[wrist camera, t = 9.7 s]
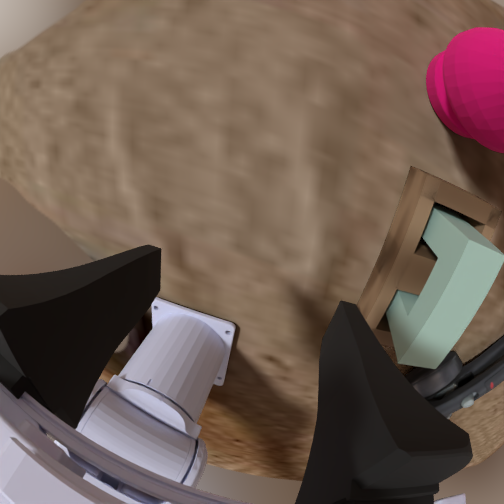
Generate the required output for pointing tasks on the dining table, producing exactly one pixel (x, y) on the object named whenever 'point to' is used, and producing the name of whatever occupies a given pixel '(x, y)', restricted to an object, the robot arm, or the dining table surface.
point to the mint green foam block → (443, 291)
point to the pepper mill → (471, 86)
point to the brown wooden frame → (416, 244)
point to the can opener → (459, 379)
